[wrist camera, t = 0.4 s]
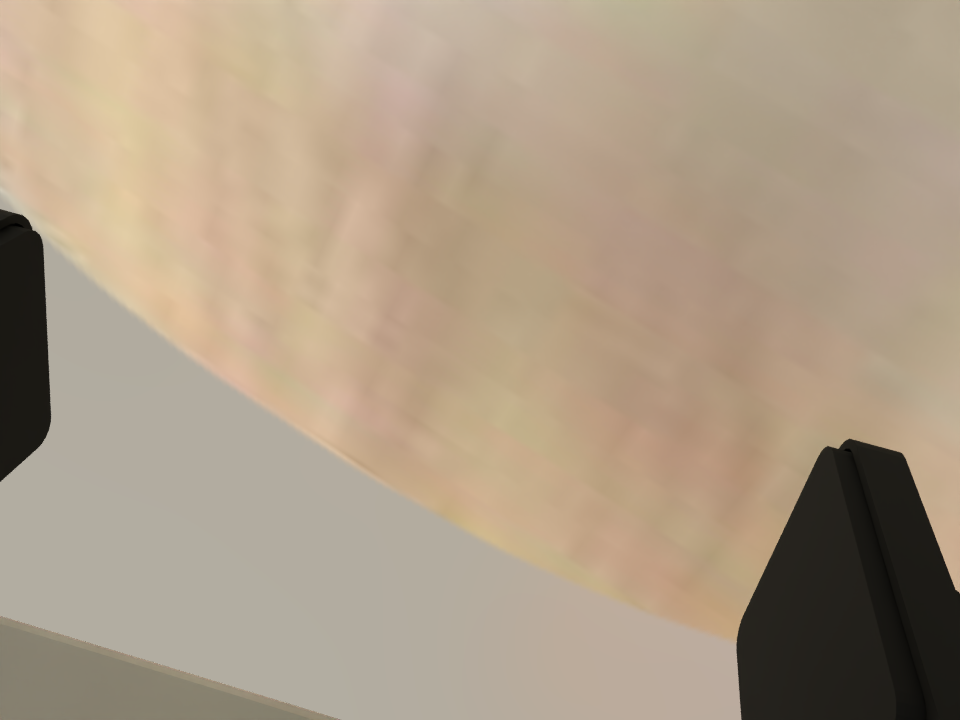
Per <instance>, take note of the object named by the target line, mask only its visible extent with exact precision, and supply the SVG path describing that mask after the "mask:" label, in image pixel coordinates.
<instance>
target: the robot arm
mask: <svg viewBox="0 0 960 720" xmlns="http://www.w3.org/2000/svg"><path fill="white" fill-rule="evenodd" d="M50 422H51V406H50V385H49V364H48V341H47V319H46V298H45V277H44V255H43V243H42V239H41V237H40V235H39V234H38V233H37V232H36V231H33V230H32V227H31V225H30V222H29V220H28V219H27V218H25V217H24V216H23V215H20V214H16V213H12V212H8V211H5V210H1V209H0V482H1V480H3V479H4V478H5V477H6V476H7V475H8V474H9V473H10V472H12V471H13V470H14V469H15V468H16V467H17V466H18V465H19V464H21V463H22V462H23V461H24V460H25V459H26V458H27V457H28V456H29V455H31V454H32V452H34V451H35V450H36V449H37V448H38V447H39V446H40V445H41V444H42V442H43V441H44V439H45V438H46V435H47V433H48V431H49V427H50ZM737 663H738V675H739V676H738V677H739V690H740V704H741V719H742V720H960V593H959V592H958V591H956V590H955V587H954V585H953V582H952V580H951V577H950V574H949V572H948V569H947V566H946V564H945V561H944V559H943V556H942V553H941V551H940V548H939V545H938V543H937V540H936V538H935V535H934V532H933V530H932V527H931V524H930V522H929V519H928V517H927V514H926V511H925V509H924V506H923V503H922V501H921V498H920V496H919V493H918V490H917V488H916V485H915V482H914V480H913V477H912V475H911V472H910V469H909V467H908V464H907V461H906V459H905V457H904V456H903V454H902V453H900V452H897V451H893V450H889V449H885V448H882V447H878V446H874V445H871V444H867V443H863V442H860V441H856V440H852V439H848V440H846V441H845V442H844V443H843V444H842V445H841V446H840V448H839V449H836V448H833V447H829V446H827V447H825V448H824V449H823V450H822V452H821V453H820V455H819V457H818V458H817V461H816V463H815V465H814V467H813V469H812V471H811V473H810V475H809V478H808V480H807V482H806V484H805V486H804V488H803V490H802V492H801V494H800V497H799V499H798V501H797V503H796V505H795V507H794V509H793V511H792V514H791V516H790V518H789V520H788V522H787V524H786V526H785V528H784V530H783V533H782V535H781V537H780V539H779V541H778V543H777V545H776V547H775V550H774V552H773V554H772V556H771V558H770V560H769V562H768V564H767V566H766V569H765V571H764V573H763V575H762V577H761V579H760V581H759V583H758V586H757V588H756V590H755V592H754V594H753V596H752V598H751V600H750V602H749V605H748V607H747V609H746V611H745V613H744V615H743V618H742V620H741V623H740V627H739V631H738V636H737ZM0 720H340V719H337V718H333V717H330V716H327V715H324V714H320V713H317V712H314V711H311V710H307V709H304V708H301V707H297V706H294V705H291V704H287V703H284V702H281V701H278V700H275V699H271V698H268V697H265V696H262V695H258V694H255V693H252V692H248V691H245V690H242V689H238V688H235V687H232V686H229V685H226V684H222V683H219V682H216V681H212V680H209V679H206V678H203V677H199V676H196V675H193V674H190V673H186V672H183V671H180V670H176V669H173V668H170V667H167V666H163V665H160V664H157V663H154V662H150V661H146V660H143V659H140V658H137V657H133V656H130V655H127V654H124V653H120V652H117V651H114V650H111V649H107V648H104V647H101V646H98V645H94V644H91V643H88V642H84V641H81V640H78V639H74V638H71V637H68V636H64V635H61V634H58V633H55V632H51V631H48V630H45V629H41V628H38V627H35V626H32V625H28V624H25V623H22V622H18V621H15V620H12V619H8V618H5V617H2V616H0Z"/></svg>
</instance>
